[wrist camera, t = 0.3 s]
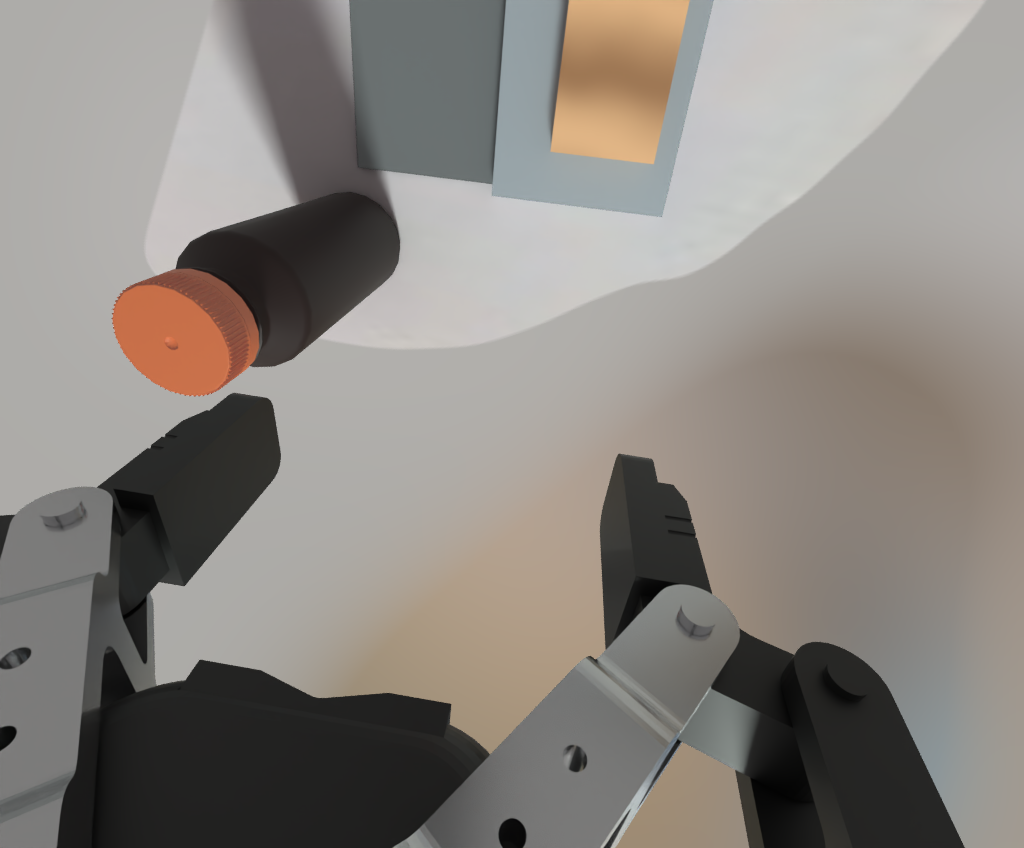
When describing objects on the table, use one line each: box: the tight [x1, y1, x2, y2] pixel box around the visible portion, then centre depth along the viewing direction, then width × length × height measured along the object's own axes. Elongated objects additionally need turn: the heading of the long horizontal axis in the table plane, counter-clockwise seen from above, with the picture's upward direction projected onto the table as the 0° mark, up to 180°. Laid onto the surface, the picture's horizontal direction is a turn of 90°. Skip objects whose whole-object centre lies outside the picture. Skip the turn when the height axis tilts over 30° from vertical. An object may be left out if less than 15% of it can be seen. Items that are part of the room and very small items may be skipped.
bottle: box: [112, 192, 400, 396], centre depth 29 cm, size 7×7×20 cm
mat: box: [349, 0, 506, 184], centre depth 31 cm, size 13×9×1 cm
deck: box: [492, 0, 714, 217], centre depth 29 cm, size 16×11×2 cm
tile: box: [550, 0, 690, 164], centre depth 28 cm, size 9×6×2 cm, turn 174°
